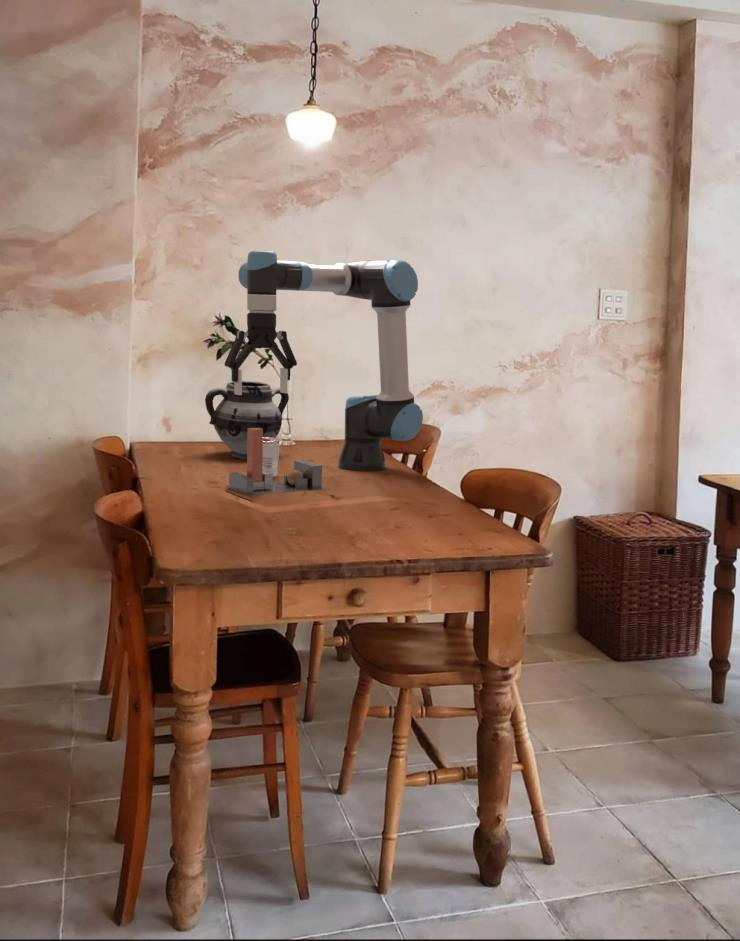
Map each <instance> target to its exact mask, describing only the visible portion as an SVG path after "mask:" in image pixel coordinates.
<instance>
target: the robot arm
mask: <svg viewBox="0 0 740 941" xmlns="http://www.w3.org/2000/svg"><path fill="white" fill-rule="evenodd" d="M277 256H278V255H277V253H276V252H275V251H268V250H266V251H265V250H252V251H250V252H249V253H247V260H246V261H247V262H244V263H243V264H242V265H241V266H240V267H239V270H238V274H237V275H238V281H239V283H240V285H241V286H242V287H243V288H245V289H247V290H246V291H247V292H246V296H247V297H246V302H247V303H246V304H247V308H246V310H247V311H249V312H248V313H247V314H246V315H247V316H246V325H247V331H243V330H236V331H235V337H234V338H235V339H234V342H233V343H232V346H231V348H230V350H229V352H228V355H227V356H226V360H225V362H224V367H227V368H229V369H231V370H230V371H231V381H232V382H234V394H236V395H242V381H243V379H242V378H243V377H242V376H243V370H242V369H241V366H242V365H243V363H244V362H245V360H247V358H248V357H249V356H250V354H251V353H252V351H253V350H255V349H269V350H270V351H271V352H272V354H273V355H274V357H275V358H276V359H277V360H278V362H279V363H280V365H281V366H282V367H280V368H279V370H280V371H279V372H280V373H279V376H280V377H279V387H280V392H281V393H288V391H289V389H288V387H289V386H288V385H289V383H288V381H290V380H291V369H293V367H296V366H297V365H298V362H297V360H296V358H295V354H294V353H293V350H292V348H291V346H290V345H291V344H290V342H289V341H288V334H287V331H285V330H279V331H276V328H277V314H276V313H275V312H276V311H277V291H298V292H299V291H301V292H323V293H324V292H326V293H327V292H329V293H332V294H335V295H336V296H341V297H342V296H343V297H350V298H356V299H361V300H370V302H371V309H373V310H374V311H375V312H376V315H377V316H376V318H377V338H378V340H377V341H378V356H379V357H378V358H379V359H378V361H379V382H380V392H379V393H378V394H375V395H374V394H373V395H357V396H349V397H347V399H346V402H345V408H344V443H343V446H342V449H341V452H340V455H339V458H338V464H337V465H338V468H340V469H343V470H348V471H349V470H350V471H363V472H365V471H366V472H367V471H368V472H369V471H370V472H371V471H380V470H385V469H386V465H387V464H386V458H385V454H384V450H383V447H382V439H388V440H393V441H398V442H399V441H402V442H406V441H410V440H413V439H414V438H415V437H416V436H417V435H418V433H419V432H420V430H421V428H422V425H423V421H424V415H423V414H424V413H423V409H421V407H420V405H418V404H417V403H415V395H414V393H412V392H411V391H410V387H409V386H410V384H409V366H408V365H409V362H408V341H407V340H408V338H407V337H408V336H407V311H408V309H409V308H410V306H411V300H413V299H414V298H415V297H416V293H417V292H418V289H419V281H418V276H417V275H418V274H417V272H416V271H415V269H414V267H412V265H411V264H410V263H409V262H407V261H404V260H400V259H398V260H397V259H383V260H381V259H380V260H361V261H355V262H345V263H344V262H338V263H335V264H333V265H326V264H325V265H321V264H319V265H318V264H308V263H307V262H303V261H299V260H297V261H295V260H294V261H293V260H278V257H277ZM246 338H247V342H246V344H245V345H244V348H242V346H243V343H244V340H245V339H246ZM276 339H277V340H278V342H279V344H280V347H281V349H282V350H281V349H280V348H279V345H278V344H277V343H276ZM241 348H242V350H241ZM240 350H241V351H240ZM239 352H240V353H239ZM283 353H284V354H283ZM288 394H289V393H288ZM384 468H385V469H384Z"/></svg>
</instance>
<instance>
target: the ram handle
mask: <svg viewBox="0 0 740 941" xmlns="http://www.w3.org/2000/svg"><path fill="white" fill-rule="evenodd" d="M262 462H263V429H260V428H247V459H246V476H248V477H250V478H253V490H259V489H272V488H273V482H274V481H273V480H274V477H273V474H272V473H269V472H266V471H262Z"/></svg>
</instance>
